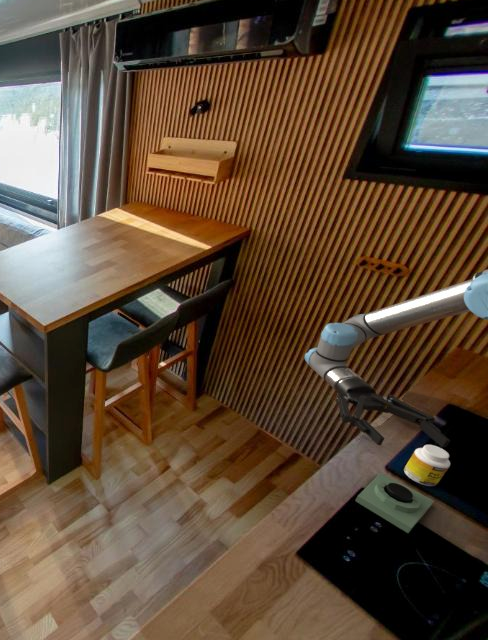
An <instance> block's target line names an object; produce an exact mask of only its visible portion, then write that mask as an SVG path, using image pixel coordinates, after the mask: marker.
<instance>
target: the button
mask: <svg viewBox="0 0 488 640" xmlns="http://www.w3.org/2000/svg"><path fill="white" fill-rule="evenodd" d="M385 491H386V493H387V494H388V495H389V496H390V497H392V498H393V499H395V500H397V501H399V502H403V503H409V502H410V501H411V499H412V498H413V494H412V492H411V491H410V490H409V489H407V488H406V487H404V486H402V485H400V484H396V483H389V484H388V485H387V487H386V489H385Z"/></svg>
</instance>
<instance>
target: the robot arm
mask: <svg viewBox="0 0 488 640" xmlns="http://www.w3.org/2000/svg"><path fill="white" fill-rule="evenodd" d="M468 312H469V313H470V312H471V313H473V314H474V315H475V316H477V317H478V318H480V319H482V320H486V321H488V269H484V270H482V271H479V272H476V273H474V274H473V277H472V278H471V279H468V280H465V281H461V282H459V283H456V284H452V285H449V286H447V287H444V288H441V289H437V290H433V291H432V292H428V293H425V294H422V295H419V296H416V297H413V298H410V299H407V300H404V301H401V302H398V303H395V304H392V305H389V306H385V307H383V308H379V309H377V310H373V311H369V312H368V313H361V314H357V315H354V316H351V317H350V318H348V319H346V320H345V321H343V322H334V323H333V322H330V323H327V324H325V325H324V328H323V330H322V331H321V334H320V338H319V341H318V344H317V346H316V347H313V348H311V349H309V350H308V352H306V353H305V354H304V360H305V362H306V363H307V364H308V365H309V368H311V369H312V370H313V371H314V372H316V373H317V374H318V376H320V377H321V378H322V379H323V380H324V381H325V382H326V383H327V384H328V385H329V386H330V387H331V388H332V389H333V390H335V391H336V392H337V394H336V396H335V399H334V401H335V403H336V404H337V405H338V409H339V415H340V419H341V422H343V423H344V424H348V423H349V425H350V426H351V427H355V428H357V429H359V431H361V432H362V433H363V434H366V435H367V436H368V437H369V438H370V439H371V440H372V441H373V443H375V444H376V445H377V446H382V444H383V442H384V440H385V437H384V436H383V435H382V434H381V433H380V432H379V431H378V430H377V429H376V428H375V427H373V425H371V424H370V422H369V421H367V420H366V419H365V418H361V416H362V413H363V410H365V411H367V412H368V411H370V412H371V411H375V412H382V413H385V414H391V415H393V416H395V417H399V418H400V419H403V420H405V421H408V422H410V423H412V424H415V425H417V426H418V428H419V429H420V430H421V431H422V432H423V433H424V434H426V436H428V437H429V438H430V439H432V440H433V441H434V442H435V443H436V444H437V445H439V447H440V448H445V449H446V448H447V447H448V446H449V444H450V442H451V440H450V438H448V437H447V436H446V435H444V434H443V433H442V431H441V430H440V429H439V428H438V427H437V426H436V425H434V422H435V421H436V417H435V416H433V415H431V414H429V413H427V412H425V411H423V410H420V409H419V408H417V407H415V406H413V405H411V404H409V403H407V402H405V401H402V400H401V399H399V398H397V397H396V396H395V395H393V394H390V393H389V394H388V395H387V396H382V395H380V394H377V392H376V390H375V388H374V387H373V386H371V385H370V384H369V383H368V382H367V381H365V380H364V379H363V378H362V377H361V376H360V375H359V374H357V373H356V372H355V371H354V370H353V369H352V368H350V367H349V366H348V365H347V362H348V360H349V357H350V354H351V353H352V351H353V349H355V348H356V347H358V346H359V345H361V344H363V343H365V342H366V341H368V340H370V339H373V338H377V337H380V336H383V335H387V334H391V333H395V332H399V331H401V330H406V329H410V328H413V327H417V326H420V325H424V324H427V323H431V322H435V321H439V320H442V319H446V318H450V317H453V316H457V315H458V316H459V315H461V314H465V313H468ZM348 403H349V404H352V405H354V406H355V408H354V412H353V415H351V413H350V409H349V404H348ZM385 405H386V407H385Z"/></svg>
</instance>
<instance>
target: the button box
mask: <svg viewBox="0 0 488 640" xmlns="http://www.w3.org/2000/svg"><path fill="white" fill-rule="evenodd" d="M389 483H396V484H400V485H402V486H404V487H406V488H407V489H409V490H410V491H411V492H412V494H413V498H412V499H411V501H410V502H409V503H403V502H399V501H397V500H395V499H393V498H392V497H390V496H389V495H388V494H387V493H386V491H385V489H386V487H387V485H388V484H389ZM354 501H355V502H356V503H358V504H359V505H361V506H363V507H364V508H365V509H367V510H369V511H370V512H372V513H374V514H376V515H377V516H379V517H381V518H382V519H384V520H385V521H387V522H388V523H390V524H392V525H393V526H395V527H396V528H398V529H400V530H402V531H403V532H405V533H407V534H409V533H410V532H411V531H412V530H413V528H415V526H416V525H417V524H418V522H419V521H420V520H421V519H422V518H423V517H424V515H425V514H426V513H427V512H428V510H429V509H430V508H431V507H432V505H433V504H434V503H435V500H433V499H431V498H430V497H427V496H426V495H424V494H422V493H420V492H418V491H417V490H415V489H413V488H411V487H410V486H407V485H405V484H404V483H402V482H400V481H398V480H396V479H394V478H392V477H391V476H389V475H388V474H387V475H386V474H385V473H383V472H379V473H378V474H377V476H375V478H374V479H372V481H370V482H369V484H368V485H367V486H366V487H365V488H364V489H363V490H362V491H361V492H360V493H359V494H358V495H357V497H356V498H355V500H354Z"/></svg>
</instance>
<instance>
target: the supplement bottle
mask: <svg viewBox="0 0 488 640" xmlns="http://www.w3.org/2000/svg"><path fill="white" fill-rule="evenodd" d="M449 458H450V454H449V452H448V451H446V450H445V449H443V447H440V446H437V445H433V444H425V445H423V447H418V448H415V450H414V451H413V453H412V454H411V456H410V458H409V460H408V461H407V463H406V465H405V466H404V468H403V471H404V474H405V475H406V476H407V477H408V479H411V480H412V481H413V482H416V483H418V484H420V485H422V486H426V487H435V486H437V485H438V484H439V482H440V481H441V480H442V478H443V477H444V475H445V474H446V472H447V471H448V469H449V468H450V466H451V461H450V460H449Z"/></svg>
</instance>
